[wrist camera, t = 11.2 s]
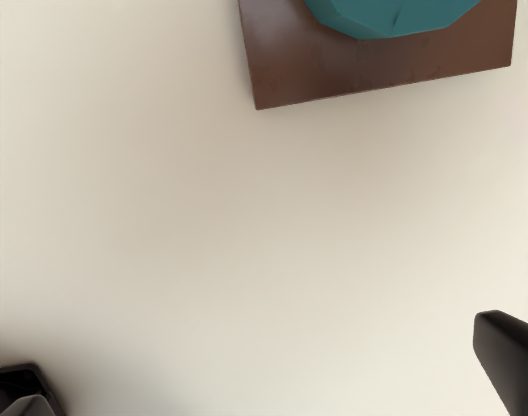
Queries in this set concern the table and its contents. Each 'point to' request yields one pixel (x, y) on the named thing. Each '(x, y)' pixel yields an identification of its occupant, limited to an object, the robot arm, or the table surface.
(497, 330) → the robot arm
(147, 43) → the table surface
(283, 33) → the peg stand
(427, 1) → the tape roll
